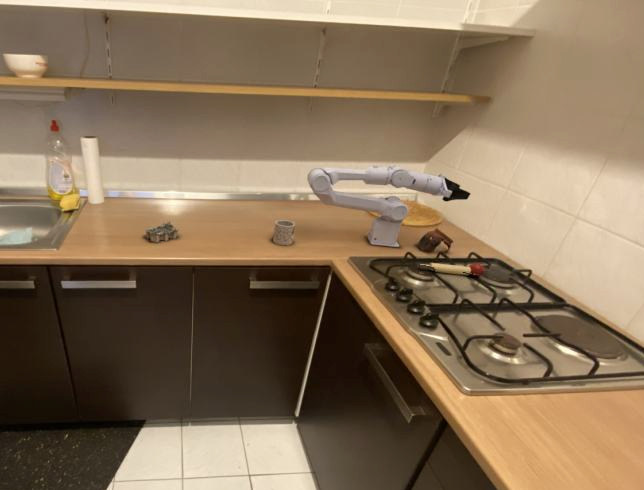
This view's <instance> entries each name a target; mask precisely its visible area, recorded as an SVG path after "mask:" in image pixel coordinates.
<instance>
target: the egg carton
mask: <svg viewBox="0 0 644 490" xmlns="http://www.w3.org/2000/svg"><path fill="white" fill-rule="evenodd" d="M144 231H145V234H146V235H145V238H146V239H150V242H153V243H154V242H155V243H159V242H160V241H168V240H169V239H173V240H175V239H177V237H178V232H179V231H180V230H179V228H176V227H174V225H173V224H172V222H171V221H166V222H163V223H162V224H161V225H157V226H153V227H150V228H149V229H148V228H145V229H144Z"/></svg>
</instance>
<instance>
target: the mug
mask: <svg viewBox="0 0 644 490" xmlns="http://www.w3.org/2000/svg"><path fill="white" fill-rule="evenodd" d="M295 226H296V223H295V222H294V221H292V220H287V219H279V220H276V221H275V223H274V229H273V230H274V231H273V238H272V242H273V243H275V244H277V245H281V246H288V245H289V246H290V245H291V244H292V243H293V240H294V232H295Z"/></svg>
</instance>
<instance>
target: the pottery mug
mask: <svg viewBox="0 0 644 490" xmlns="http://www.w3.org/2000/svg"><path fill="white" fill-rule="evenodd" d="M442 242H443V244H444V245H446V246H447V250H446V251H445V253H448V252H450V250H451V247H452V244H453V243H454V240H453V239H452V238H451V237H450V236H448V235H447V234H445V233H444V231H442V230H440V229H439V228H435V229H434V230H430V231H427V232H426V233H425V234H424V235H423V236H422V237H421V238H420V239H419V241H418V243H417V244H416V246H417V247H418V249H420V250H421V251H425V249H426V250H427V251H428V252H434V251H435V250H436V248H438V247H439V246H440V245H441V244H442Z"/></svg>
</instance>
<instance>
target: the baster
mask: <svg viewBox="0 0 644 490" xmlns="http://www.w3.org/2000/svg"><path fill="white" fill-rule="evenodd" d="M419 264H420V265H426V266H431V267H434V268H435V269H436V270H435V272H434V273H441V274H442V273H443V274H449V275H450V274H451V275H460V276H469V275H470V276H471V277H480V276H481V275H483V274H484V272H485V267H484V266H483V265H482V264H481V263H478V262H474V263H471V264H470V265H469V266H464V265H455V264H445V263H437V262H436V263H435V262H430V263H429V264H430V265H429V264H423V263H419ZM463 272H466V273H472V274H466V273H463ZM474 273H475V274H481V275H473V274H474ZM482 273H483V274H482Z"/></svg>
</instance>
